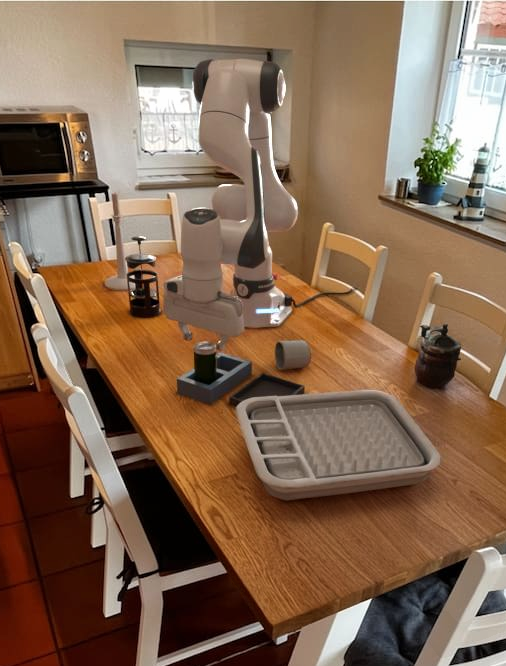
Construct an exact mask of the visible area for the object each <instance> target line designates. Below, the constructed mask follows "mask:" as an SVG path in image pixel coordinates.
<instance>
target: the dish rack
mask: <svg viewBox="0 0 506 666" xmlns="http://www.w3.org/2000/svg"><path fill="white" fill-rule="evenodd" d="M235 415H236V417H237V421H238V424H239V426H240V430H241V433H242V436H243V439H244V442H245V444H246V447H247V450H248V453H249V456H250V459H251V462H252V465H253V467H254V471H255V473H256V476H257V477H258V478H259V479H260V480H261V483H262V485H263V487H264V490H265V491H266V492H267V493H268V494H269V495H270V496H272V497H274V498H276V499H281V500H282V501H294V500H301V499H309V498H319V497H327V496H336V495H345V494H352V493H360V492H367V491H374V490H383V489H390V488H391V489H392V488H397V487H398V488H399V487H404V486H411V485H412V486H413V485H418V484H422V483H423V482H425V481H426V480H427V479H428V477H429V474H430V472H432V471H434V470H436V469H437V468H438V467H439V466H440V464H441V462H442V458H441V455H440V453H439V451H438V449H437V448H436V446H435V445H434V444H433V443H432V442H431V440H430V439H429V438H428V437H427V434H425V432H424V431H423V430H422V429H421V428H420V426H419V425H418V424H417V422H416V421H415V420H414V419H413V417H412V416H411V414H409V413H408V411H407V410H406V409H405V407H404V406H403V405H402V404H401V402H400V401H399V399H398V398H396V397H395V396H393V395H392V394H390V393H387V392H385V391H382V390H378V389H358V390H346V391H331V392H319V393H307V394H306V393H304V394H302V395H291V396H279V397H278V396H267V397H254V398H249V399H246V400H244V401H242V402H241V403H239V404H238V405H237V407H235Z"/></svg>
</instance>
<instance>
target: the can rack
mask: <svg viewBox="0 0 506 666" xmlns="http://www.w3.org/2000/svg"><path fill="white" fill-rule="evenodd" d="M252 376H253V361H251V360H247V359H245V358H241V357H237V356H236V355H231V354H228V353H225V352H223V351H219V352H217V380H216V381H215V382H213V383H212V384H210V385H206V384H203V383H200V382H197V381H195V375H194V367H193V368H192V369H190V370H188V371H187V372H185V373H184V374H182V375H180V376H178V377H176V387H177V388H176V390H177V394H180V395H182V396H185V397H188V398H191V399H194V400H196V401H199V402H202V403H205V404H208V405H213V404H214V403H215V402H217V401H218V400H220V399H221V398H222V397H224V396H225V395H227V394H228V393H230V392H231V391H232V390H233V389H235V388H237V387H238V386H239V385H241V384H242V383H244V382H245V381H246V380H248V379H249V378H250V377H252Z"/></svg>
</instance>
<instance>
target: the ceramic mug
mask: <svg viewBox="0 0 506 666" xmlns="http://www.w3.org/2000/svg"><path fill="white" fill-rule="evenodd" d="M274 360H275V364H276V367H277V368H278V370H280V371H286V370H293V369H294V370H295V369H301V368H306V367H308V366H309V365H310V363H311V362H312V348H311V346H310V344H309V343H308V342H307V341H306V340H302V339H301V340H299V339H298V340H278V341H277V342H276V343H275V347H274Z"/></svg>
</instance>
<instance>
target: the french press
mask: <svg viewBox="0 0 506 666" xmlns="http://www.w3.org/2000/svg"><path fill="white" fill-rule="evenodd" d="M146 240H147V237H145V236H141V235H140V236H139V235H137V236H132V237H131V241H135V242H137V245H138V251H139V253H137V254H136V253H135V254H129V255H127V256H126V257H125V261H126V262H127V267H128V268H129V269H131V270H132V271H128V273H127V284H128V290H127V294H128V302H129V315H130V316H132V317H134V318H139V319H150V318H155V317H158V316H159V315H160V314H162V310H161V305H160V293H159V292H160V291H159V290H160V289H159V278H158V277H159V276H158V272H156V271H154V270H150V269H149V270H148V269H143V265H149V266H150V267H153V268H155V267H156V262H157V257H156V256H155V255H152V254H147V253H142V251H141V250H142V249H141V245H142V242H144V241H146ZM139 266H140V268H138V267H139ZM143 275H149V276H152V277H151V278H144V276H143ZM130 276H134V278H135V279H133V278H130ZM129 282H132V283H135V288H136V289H133V290H130V286H129ZM152 283H155V288H156V289H155V288H151V287H150V286H151V285H150V284H152Z"/></svg>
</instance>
